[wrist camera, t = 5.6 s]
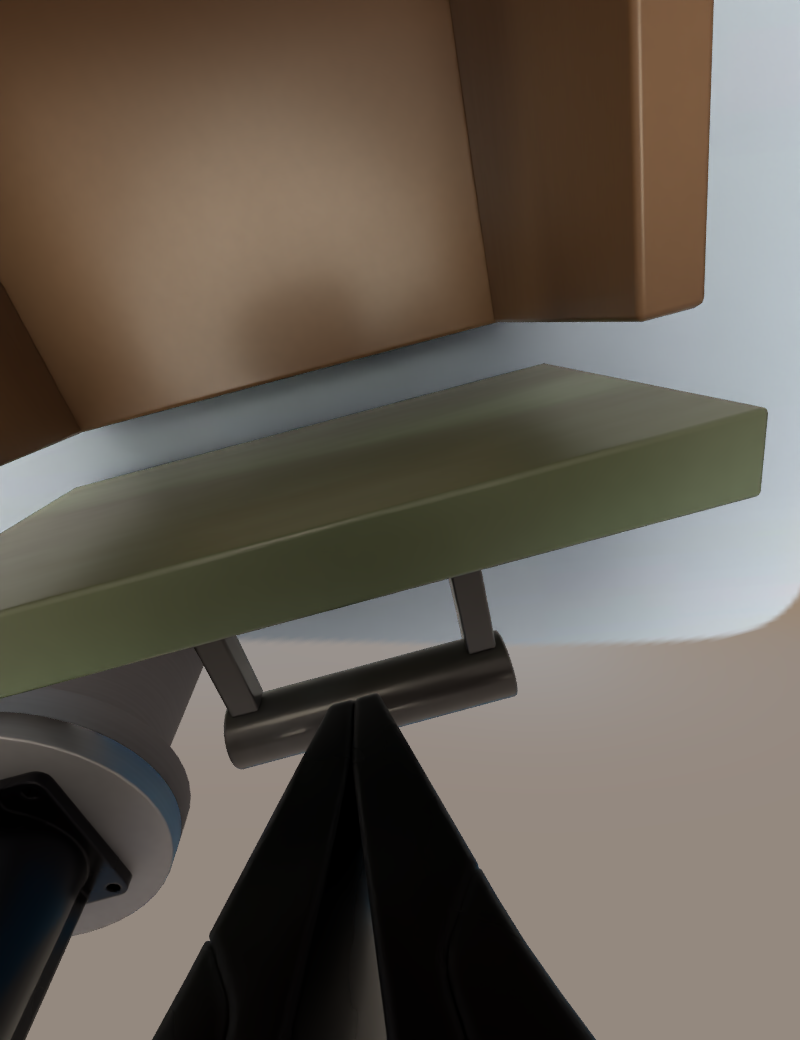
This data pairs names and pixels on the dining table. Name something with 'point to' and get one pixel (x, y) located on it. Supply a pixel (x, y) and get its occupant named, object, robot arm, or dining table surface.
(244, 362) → the drawer
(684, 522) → the dining table surface
